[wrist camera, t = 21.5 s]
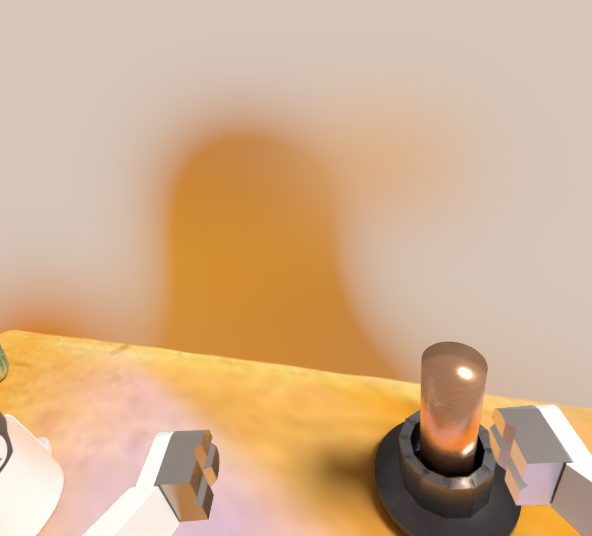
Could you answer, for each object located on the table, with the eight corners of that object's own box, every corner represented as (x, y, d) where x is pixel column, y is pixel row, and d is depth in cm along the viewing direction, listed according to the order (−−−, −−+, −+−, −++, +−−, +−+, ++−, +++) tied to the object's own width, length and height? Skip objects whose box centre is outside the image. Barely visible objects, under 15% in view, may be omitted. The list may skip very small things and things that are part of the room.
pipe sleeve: (388, 562, 35) (386, 526, 31) (367, 428, 47) (364, 392, 43) (549, 556, 33) (564, 518, 30) (485, 420, 45) (491, 382, 42)
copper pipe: (426, 500, 37) (430, 388, 29) (414, 453, 42) (415, 344, 34) (478, 498, 37) (498, 383, 29) (460, 450, 41) (473, 339, 33)
